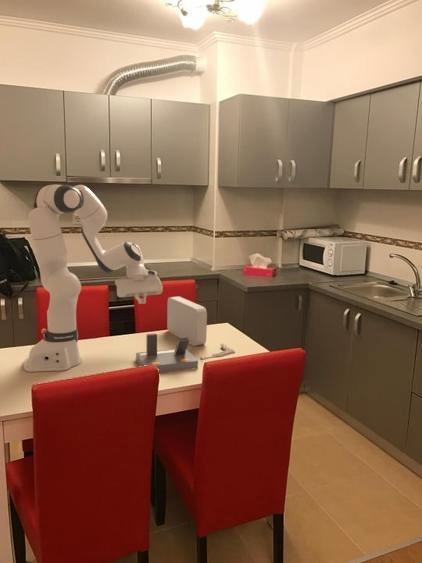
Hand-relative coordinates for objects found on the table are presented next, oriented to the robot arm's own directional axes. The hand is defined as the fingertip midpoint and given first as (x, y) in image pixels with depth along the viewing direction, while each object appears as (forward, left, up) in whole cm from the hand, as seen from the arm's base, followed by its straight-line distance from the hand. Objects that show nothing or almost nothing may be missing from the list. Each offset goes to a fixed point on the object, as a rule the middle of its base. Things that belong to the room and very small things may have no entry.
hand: (142, 303), depth 202 cm
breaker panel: (+6, -19, -22) cm, 29 cm away
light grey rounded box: (+24, +11, -22) cm, 34 cm away
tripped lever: (0, -18, -18) cm, 25 cm away
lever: (+12, -18, -18) cm, 28 cm away
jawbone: (+29, -12, -23) cm, 39 cm away
